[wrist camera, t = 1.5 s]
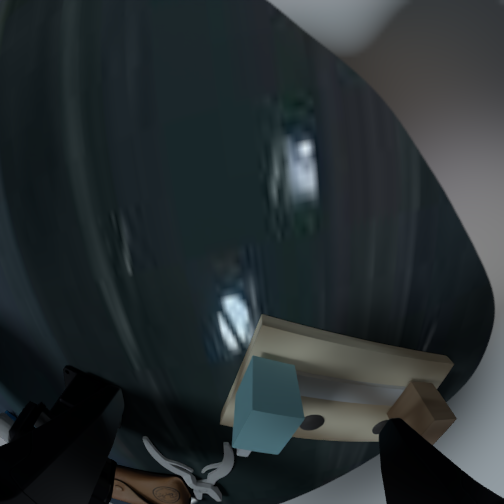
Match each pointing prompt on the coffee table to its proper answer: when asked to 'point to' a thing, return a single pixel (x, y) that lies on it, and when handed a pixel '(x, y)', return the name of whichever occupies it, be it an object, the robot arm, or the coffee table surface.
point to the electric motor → (6, 425)
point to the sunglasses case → (149, 488)
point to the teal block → (266, 407)
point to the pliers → (205, 484)
